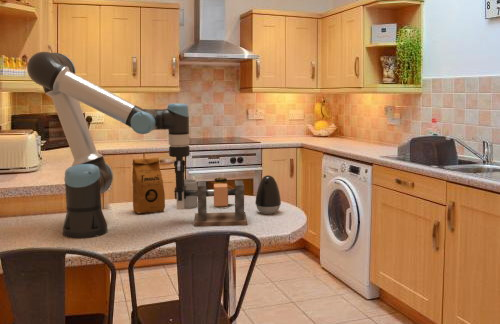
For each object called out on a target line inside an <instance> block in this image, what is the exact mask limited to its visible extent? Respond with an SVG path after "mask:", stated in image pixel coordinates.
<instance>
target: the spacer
mask: <svg viewBox="0 0 500 324" xmlns="http://www.w3.org/2000/svg"><path fill="white" fill-rule="evenodd" d="M227 185H228V183H227V184H213V189H214V196H213V205H214V206H228V204H229V195H228V189H229V186H228V187H227Z"/></svg>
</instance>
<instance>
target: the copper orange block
mask: <svg viewBox="0 0 500 324" xmlns="http://www.w3.org/2000/svg"><path fill="white" fill-rule="evenodd" d="M213 183H214V184H227V187H228V188H229V184H228V179H227V178H226V177H216V178H214V182H213ZM214 184H213V185H214ZM212 206H213V207H212ZM231 206H235V203H228V206H214V204H213V205H211V206H210V207H211V208H216V209H227V208H229V207H231Z"/></svg>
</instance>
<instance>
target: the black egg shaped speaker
mask: <svg viewBox="0 0 500 324" xmlns="http://www.w3.org/2000/svg"><path fill="white" fill-rule="evenodd" d="M281 198H282V197H281V193H280V189H279V187H278V183H277V181H276V179H275V178H274V176H272V175H264V176H263V177H262V178H261V179H260V180H259V183H258V186H257V190H256V195H255V201H254V202H255V206H256V208H257V210H258V211H259V213H261V214H263V215H273V214H275V213H277V212H278V211H279V210H280V207H281V204H282V200H281Z"/></svg>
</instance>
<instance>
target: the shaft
mask: <svg viewBox="0 0 500 324" xmlns="http://www.w3.org/2000/svg"><path fill="white" fill-rule="evenodd" d="M175 190H176V187H174V191H175ZM183 190H184V199H186V196H197V197H198V189H197V190H186V187H183ZM235 195H236V189H235V188H228V196H235ZM206 197H214V188H213V189H206ZM174 199H175V200H177V199H176V192H174Z"/></svg>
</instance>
